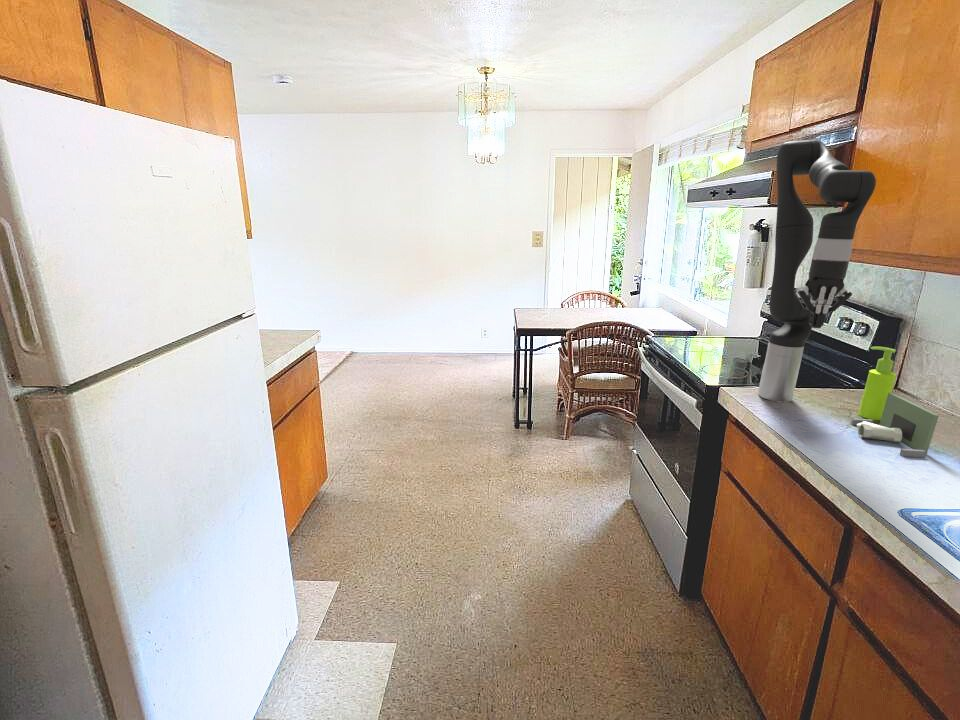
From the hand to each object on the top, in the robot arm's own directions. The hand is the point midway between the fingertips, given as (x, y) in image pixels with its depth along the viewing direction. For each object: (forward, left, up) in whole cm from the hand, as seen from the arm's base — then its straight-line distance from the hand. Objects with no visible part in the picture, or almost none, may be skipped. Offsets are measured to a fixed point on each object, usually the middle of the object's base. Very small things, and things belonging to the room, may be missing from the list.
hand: (815, 327), depth 125 cm
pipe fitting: (+5, +18, -28) cm, 33 cm away
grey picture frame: (+6, +20, -27) cm, 34 cm away
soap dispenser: (-10, +26, -27) cm, 39 cm away
